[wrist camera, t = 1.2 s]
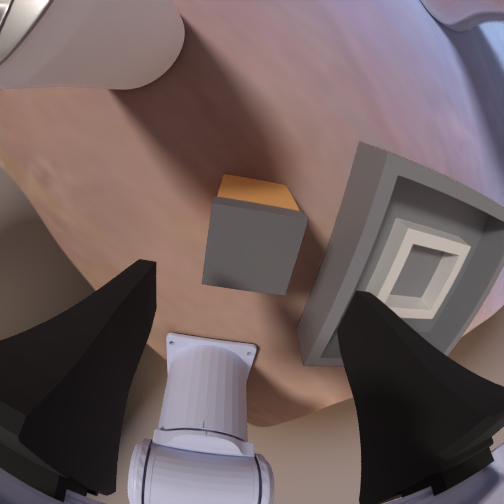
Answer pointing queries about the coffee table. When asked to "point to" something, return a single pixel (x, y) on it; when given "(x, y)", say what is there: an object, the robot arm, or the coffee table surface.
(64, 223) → the coffee table surface
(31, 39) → the can
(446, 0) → the beer glass
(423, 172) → the box
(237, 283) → the plug
